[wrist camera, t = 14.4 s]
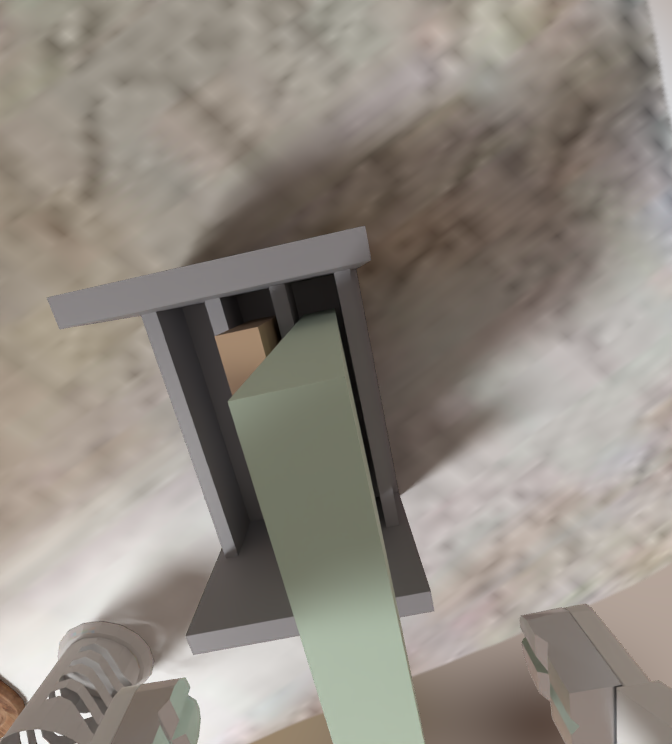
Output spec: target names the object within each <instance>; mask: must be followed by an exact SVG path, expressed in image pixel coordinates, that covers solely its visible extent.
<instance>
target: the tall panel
mask: <svg viewBox="0 0 672 744" xmlns="http://www.w3.org/2000/svg"><path fill="white" fill-rule="evenodd" d="M228 405H229V408H230V411H231V414H232V418H233V421H234V424H235V427H236V431H237V434H238V437H239V440H240V444H241V447H242V450H243V453H244V456H245V460H246V463H247V466H248V469H249V473H250V476H251V479H252V482H253V486H254V489H255V492H256V495H257V499H258V502H259V505H260V508H261V512H262V515H263V518H264V521H265V524H266V528H267V531H268V534H269V537H270V541H271V544H272V547H273V550H274V554H275V557H276V560H277V563H278V567H279V570H280V573H281V576H282V579H283V583H284V586H285V589H286V592H287V596H288V599H289V602H290V605H291V609H292V612H293V615H294V618H295V622H296V625H297V628H298V631H299V634H300V638H301V641H302V644H303V647H304V651H305V654H306V657H307V660H308V664H309V667H310V670H311V673H312V677H313V680H314V683H315V686H316V690H317V693H318V696H319V699H320V702H321V706H322V709H323V712H324V715H325V718H326V722H327V725H328V728H329V732H330V734H331V738H332V741H333V744H425V739H424V734H423V730H422V725H421V720H420V715H419V710H418V705H417V700H416V695H415V691H414V686H413V681H412V676H411V671H410V666H409V661H408V656H407V652H406V647H405V642H404V637H403V632H402V627H401V622H400V617H399V613H398V608H397V603H396V598H395V593H394V588H393V583H392V578H391V574H390V569H389V564H388V559H387V554H386V549H385V544H384V540H383V535H382V530H381V525H380V520H379V515H378V510H377V505H376V501H375V496H374V491H373V486H372V481H371V476H370V471H369V467H368V462H367V457H366V453H365V448H364V443H363V439H362V434H361V429H360V424H359V420H358V415H357V410H356V406H355V401H354V396H353V392H352V387H351V382H350V378H349V373H348V368H347V364H346V359H345V354H344V350H343V345H342V340H341V336H340V331H339V326H338V321H337V317H336V312H335V308H333V309H328V310H324V311H319V312H315V313H310V314H306V315H303V316H302V317H301V318H300V320H299V321H298V322H297V323H296V324H295V325H294V326H293V328H292V329H291V330H290V331H289V332H288V333H287V334H286V336H285V337H284V338H283V339H282V340H281V341H280V342H279V344H278V345H277V346H276V347H275V348H274V349H273V350H272V351H271V353H270V354H269V355H268V356H267V357H266V358H265V359H264V361H263V362H262V363H261V364H260V365H259V366H258V367H257V369H256V370H255V371H254V372H253V373H252V374H251V375H250V377H249V378H248V379H247V380H246V381H245V382H244V383H243V384H242V386H241V387H240V388H239V389H238V390H237V391H236V392H235V394H234V395H233V396H232V397H231V398H230V399H229V400H228Z"/></svg>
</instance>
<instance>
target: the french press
mask: <svg viewBox="0 0 672 744" xmlns="http://www.w3.org/2000/svg"><path fill="white" fill-rule="evenodd" d="M153 663H154V660H153V656H152V653H151V650H150V647H149V646H148V645H147V644H146V643H145V641H144V640H143V639H142V638H141V637H140V636H139V635H138V634H137V633H135V632H133V631H131V630H129V629H127V628H126V627H124V626H122V625H118V624H113V623H108V622H103V621H101V622H91V623H83V624H81V625H79V626H77V627H75V628H73V629H71V630H69V631H68V632H67V633H66V635H65V636H64V637H63V638H62V640H61V641H60V642H59V650H58V662H57V663H56V665H55V666H54V667H53V669H52V670H51V672H50V673H49V674H48V676H47V677H46V678H45V680H44V681H43V683H42V684H41V685H40V687H39V688H38V690H37V691H36V692H35V694H34V695H33V697H32V698H31V699H30V701H29V702H28V704H27V705H26V706H25V708H24V709H23V710H22V712H21V713H20V715H19V716H18V717H17V719H16V720H15V722H14V723H13V724H12V726H11V727H10V729H9V730H8V731H7V733H6V734H5V735H4V737H3V738H2V740H1V741H0V744H21V741H20V734H19V732H20V731H25V730H26V732H27V738H28V743H29V744H37V742H36V737H35V732H34V729H40V730H41V732H42V737H43V738H44V739H45V740H47V741H48V742H49V743H50V744H75V743H78V744H90V742H91V740H92V738H93V736H94V734H95V732H96V730H97V728H98V726H99V724H100V723H101V721H102V719H103V717H104V715H105V713H106V711H107V709H108V707H109V705H110V703H111V701H112V700H113V698H114V696H115V695H116V694H117V693H118V691H119V690H120V689H121V688H123V687H128V686H134V685H140V684H143V683H144V682H145V681H146V680H147V679H148V678H149V676H150V675H151V673H152V668H153ZM58 689H60V693H61V696H57V697H55V690H58ZM48 696H49V699H47V697H48ZM46 699H47V700H46ZM88 712H90V713H91V715H92V716H93V717H90V718H87V719H83V717H82V716H81V714H80V713H88ZM54 732H56V733H59V734H61V735H63V736H57V735H56V734H55V733H54Z"/></svg>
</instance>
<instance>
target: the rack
mask: <svg viewBox="0 0 672 744" xmlns="http://www.w3.org/2000/svg"><path fill="white" fill-rule="evenodd" d="M369 261H371V256H370V250H369V245H368V239H367V233H366V228H365V226H361V227H357V228H352V229H348V230H344V231H339V232H335V233H330V234H326V235H321V236H317V237H313V238H308V239H304V240H299V241H295V242H290V243H286V244H282V245H277V246H273V247H268V248H264V249H259V250H255V251H251V252H246V253H242V254H237V255H233V256H228V257H224V258H220V259H215V260H211V261H206V262H202V263H197V264H193V265H189V266H184V267H180V268H175V269H171V270H166V271H162V272H158V273H153V274H149V275H144V276H140V277H135V278H131V279H127V280H122V281H118V282H113V283H109V284H104V285H100V286H95V287H91V288H87V289H82V290H78V291H73V292H69V293H64V294H60V295H56V296H51V297H47V300H48V302H49V305H50V307H51V310H52V312H53V314H54V317H55V319H56V322H57V324H58V327H59V329H64V328H70V327H76V326H82V325H88V324H94V323H100V322H106V321H112V320H118V319H124V318H130V317H136V316H141V317H142V320H143V323H144V325H145V328H146V331H147V334H148V337H149V340H150V343H151V346H152V348H153V351H154V354H155V357H156V360H157V363H158V366H159V368H160V371H161V374H162V377H163V380H164V383H165V386H166V389H167V391H168V394H169V397H170V400H171V403H172V406H173V409H174V411H175V414H176V417H177V420H178V423H179V426H180V429H181V432H182V434H183V437H184V440H185V443H186V446H187V449H188V452H189V454H190V457H191V460H192V463H193V466H194V469H195V472H196V475H197V477H198V480H199V483H200V486H201V489H202V492H203V495H204V497H205V500H206V503H207V506H208V509H209V512H210V515H211V518H212V520H213V523H214V526H215V529H216V532H217V535H218V538H219V540H220V543H221V546H222V549H221V552H220V554H219V557H218V559H217V561H216V564H215V566H214V569H213V571H212V573H211V576H210V578H209V581H208V583H207V586H206V588H205V590H204V593H203V595H202V598H201V600H200V603H199V605H198V607H197V610H196V612H195V615H194V617H193V620H192V622H191V624H190V627H189V629H188V632H187V634H186V639H187V641H188V643H189V646H190V648H191V651H192V653H193V655H196V654H201V653H207V652H212V651H218V650H223V649H229V648H234V647H240V646H245V645H251V644H256V643H262V642H267V641H273V640H278V639H284V638H289V637H295V636H300V634H299V631H298V628H297V625H296V622H295V618H294V615H293V612H292V609H291V605H290V602H289V599H288V596H287V592H286V589H285V586H284V583H283V579H282V576H281V573H280V570H279V567H278V563H277V560H276V557H275V554H274V550H273V547H272V544H271V541H270V537H269V534H268V531H267V528H266V524H265V521H264V518H263V515H262V512H261V508H260V505H259V502H258V499H257V495H256V492H255V489H254V486H253V482H252V479H251V476H250V473H249V469H248V466H247V463H246V460H245V456H244V453H243V450H242V447H241V444H240V440H239V437H238V434H237V431H236V427H235V424H234V421H233V418H232V414H231V411H230V408H229V405H228V400H229V399H230V398H231V397H232V393H231V390H230V387H229V383H228V380H227V377H226V373H225V370H224V367H223V363H222V360H221V357H220V353H219V350H218V347H217V343H216V340H215V337H214V336H216V335H218V334H221V333H223V332H225V331H227V330H229V329H232V328H234V327H236V326H238V325H241V324H243V323H245V322H247V321H250V320H255V319H260V318H264V317H269V316H273V315H276V318H277V322H278V326H279V330H280V334H281V338H282V339H283V338H284V337H285V336H286V334H287V333H288V332H289V331H290V330H291V329H292V328H293V326H294V325H295V324H296V323H297V322H298V321H299V320H300V318H301V317H302V316H303V315H306V314H310V313H315V312H319V311H324V310H328V309H333V308H335V312H336V317H337V321H338V326H339V331H340V336H341V340H342V345H343V350H344V354H345V359H346V364H347V368H348V373H349V378H350V382H351V387H352V392H353V396H354V401H355V406H356V410H357V415H358V420H359V424H360V429H361V434H362V439H363V443H364V448H365V453H366V457H367V462H368V467H369V471H370V476H371V481H372V486H373V491H374V496H375V501H376V505H377V510H378V515H379V520H380V525H381V530H382V535H383V540H384V544H385V549H386V554H387V559H388V564H389V569H390V574H391V578H392V583H393V588H394V593H395V598H396V603H397V608H398V613H399V617H405V616H410V615H416V614H421V613H427V612H432V611H434V607H433V601H432V596H431V591H430V587H429V584H428V581H427V578H426V575H425V572H424V569H423V566H422V563H421V560H420V557H419V554H418V550H417V547H416V544H415V541H414V538H413V535H412V532H411V529H410V526H409V523H408V520H407V517H406V513H405V510H404V507H403V504H402V501H401V498H400V495H399V491H398V486H397V481H396V476H395V470H394V465H393V460H392V455H391V450H390V444H389V439H388V434H387V429H386V423H385V418H384V413H383V408H382V402H381V397H380V392H379V387H378V381H377V376H376V371H375V366H374V361H373V355H372V350H371V345H370V340H369V334H368V329H367V324H366V319H365V313H364V308H363V303H362V298H361V292H360V287H359V282H358V277H357V272H356V269H357V268H359V267H360V266H362V265H364V264H366V263H367V262H369Z"/></svg>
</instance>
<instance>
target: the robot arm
mask: <svg viewBox="0 0 672 744" xmlns="http://www.w3.org/2000/svg"><path fill="white" fill-rule="evenodd" d="M520 628H521V630H522V632H523V633H524V635H525V638H524V639H523V641H522V647H523V654H524V657H525V661H526V663H527V667H528V670H529V672H530V674H531V676H532V679H533V681H534V683H535V685H536V687H537V689H538V691H539V693H540V694H542V695H543V696H544V697H545V698H546V699H548V700H549V701H550V702H551V713H552V719H553V721H554V723H555V724H556V726H557V728H558V730H559V732H560V734H561V736H562V738H563V740H564V742H565V744H672V688H670V687H669V686H667V685H666V684H664V683H662V682H661V681H659V680H658V681H651V680H650V679H649V678H648V676H647V675H646V674H645V673H644V672H643V670H642V669H641V668H640V667H639V665H638V664H637V663H636V662H635V661H634V659H633V658H632V657H631V656H630V655H629V653H628V652H627V651H626V649H625V648H624V647H623V646H622V644H621V643H620V642H619V641H618V640H617V638H616V637H615V636H614V635H613V633H612V632H611V631H610V630H609V628H608V627H607V626H606V625H605V623H604V622H603V621H602V620H601V618H600V617H599V616H598V615H597V614H596V612H595V611H594V610H593V609H592V608H591V607H590V606H589V605H587V604H580V605H575V606H570V607H565V608H562V607H561V608H556V609H551V610H546V611H541V612H536V613H531V614H526V615H521V617H520ZM189 689H190V685H189V683H188V682H187V680H186V678H178V679H172V680H166V681H159V682H153V683H147V684H140V685H134V686H128V687H123V688H121V689H120V690H119V691H118V693H117V694H116V695H115V696H114V698H113V700H112V701H111V703H110V705H109V707H108V709H107V711H106V713H105V715H104V717H103V719H102V721H101V723H100V724H99V726H98V728H97V730H96V732H95V734H94V736H93V738H92V740H91V742H90V744H197V741H198V738H199V731H200V720H201V718H200V710H199V706H198V704H197V701H196V700H195V699H193V698H192V697H190V696H189V695H188V692H189Z"/></svg>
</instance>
